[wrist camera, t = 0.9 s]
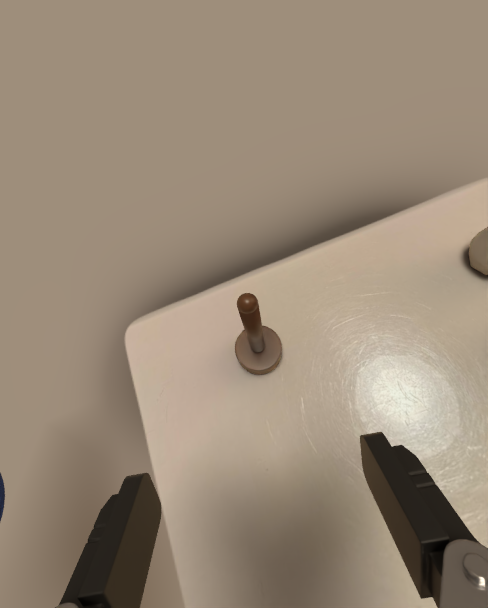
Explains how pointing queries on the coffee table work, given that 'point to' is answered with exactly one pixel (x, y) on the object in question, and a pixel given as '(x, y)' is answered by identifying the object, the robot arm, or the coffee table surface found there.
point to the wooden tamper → (256, 339)
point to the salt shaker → (479, 252)
